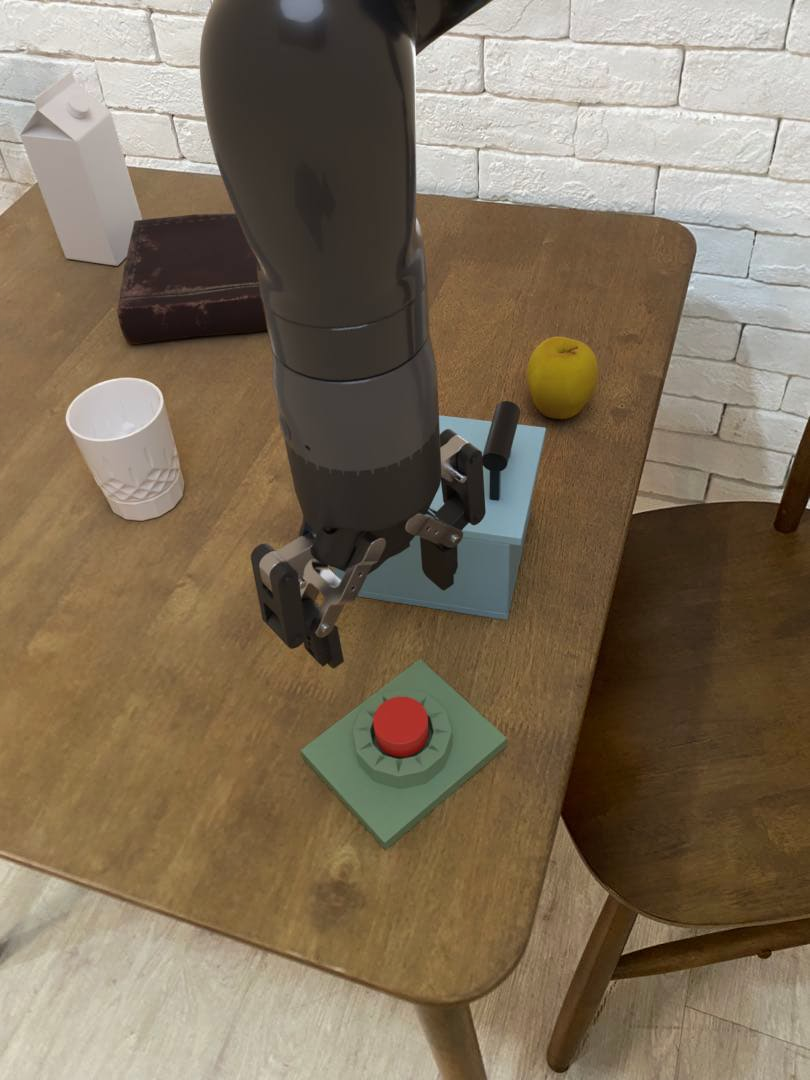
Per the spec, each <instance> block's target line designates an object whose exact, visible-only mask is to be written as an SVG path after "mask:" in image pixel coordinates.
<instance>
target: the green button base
mask: <svg viewBox="0 0 810 1080" xmlns="http://www.w3.org/2000/svg"><path fill="white" fill-rule="evenodd" d="M394 697H409V698H412V699H414V700H416V701H418V702H419V703H420V704H421V705H422V706H423V707H424V708H425V710H426V713H427V716H428V727H429V736H428V740H427V742H426V744H425V746H424V747H423V748H422V749H421V750H420V751H419V752H417V753H415V754H413V755H411V756H407V757H395V756H392V755H389V754H387V753H386V752H384V751H383V750H382V749H381V748H380V747H379V745H378V743H377V741H376V737H375V731H374V725H373V718H374V714H375V712H376V710H377V709H378V707H379V706H380V705H381V704H382V703H384V702H385V701H387V700H389V699H391V698H394ZM507 746H508V738H507V736H506V735H505V734H504V733H502V732H501V731H500V730H499V729H498V728H497V727H496V726H494V724H493V723H491V721H489V720H488V719H487V718H486V717H485V716H484V715H483V714H481V712H479V710H477V709H476V708H475V707H474V706H473V705H472V704H471V703H469V702H468V701H467V699H465V698H464V697H463V696H462V695H461V694H459V693H458V692H457V691H456V690H455V689H454V688H453V687H452V686H451V685H450V684H449V683H447V682H446V680H444V679H443V678H442V677H441V676H440V675H438V674H437V673H436V672H435V671H434V670H433V669H432V668H431V667H430V666H429V665H428V664H427V663H425V661H423V660H422V659H421V658H419V659H417V660H416V661H415V662H413V663H412V664H411V665H409V666H408V667H407V668H405V669H404V670H403V671H401V672H400V673H399V674H398V675H397V676H395V677H394V678H393V679H391V680H390V681H388V682H387V683H386V684H385V685H382V687H381V688H379V689H378V690H377V691H376V692H374V693H373V694H371V695H370V696H369V697H368V698H366V699H365V700H363V702H361V703H360V704H359V705H357V706H356V707H354V708H353V709H352V710H350V711H349V712H348V713H347V714H346V715H344V716H342V718H340V719H339V720H337V721H336V722H335V723H334V724H332V725H331V726H330V727H328V728H327V729H326V730H324V731H323V732H322V733H321V734H319V735H318V736H316V737H315V738H314V739H313V740H311V741H310V742H309V743H308V744H307V745H304V747H302V748H301V749H300V753H301V757H302V759H303V761H305V763H306V764H307V765H308V766H309V767H310V768H311V769H312V771H313V772H314V773H315V774H316V775H317V776H318V777H319V778H320V780H322V781H323V783H324V784H325V785H326V787H328V788H329V789H330V791H331V792H332V793H333V794H334V795H335V796H336V797H337V798H338V799H339V801H341V802H342V804H343V805H344V806H345V807H346V808H347V809H348V811H349V812H351V814H352V815H353V816H354V817H355V818H356V819H357V820H358V822H359V823H360V824H361V825H362V826H363V827H364V828H365V829H366V830H367V831H368V832H369V834H371V836H372V837H373V838H374V839H375V841H377V842H378V843H379V845H380V846H381V847H382V848H383V850H385V851H387V850H388V849H389V848H390V847H392V846H393V845H394V844H395V843H396V842H398V840H400V839H401V838H402V837H403V836H404V835H406V834H407V833H408V832H409V831H410V830H411V829H412V828H414V827H415V826H416V825H417V824H419V823H420V822H421V821H422V820H423V819H424V818H425V817H427V816H428V815H429V814H430V813H431V812H432V811H433V810H435V809H436V808H437V807H438V806H440V805H441V804H442V803H443V802H444V801H445V800H446V799H448V798H449V797H450V796H451V795H452V794H453V793H454V792H455V791H457V790H458V789H459V788H460V787H461V786H462V785H464V784H465V783H466V782H467V781H468V780H469V779H471V778H472V777H473V776H474V775H475V774H476V773H478V772H479V771H480V770H482V769H483V768H484V767H485V766H486V765H487V764H488V763H489V762H490V761H492V760H493V759H494V758H495V757H497V755H499V754H500V753H501V752H502V751H503V750H505V749H506V748H507Z"/></svg>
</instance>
